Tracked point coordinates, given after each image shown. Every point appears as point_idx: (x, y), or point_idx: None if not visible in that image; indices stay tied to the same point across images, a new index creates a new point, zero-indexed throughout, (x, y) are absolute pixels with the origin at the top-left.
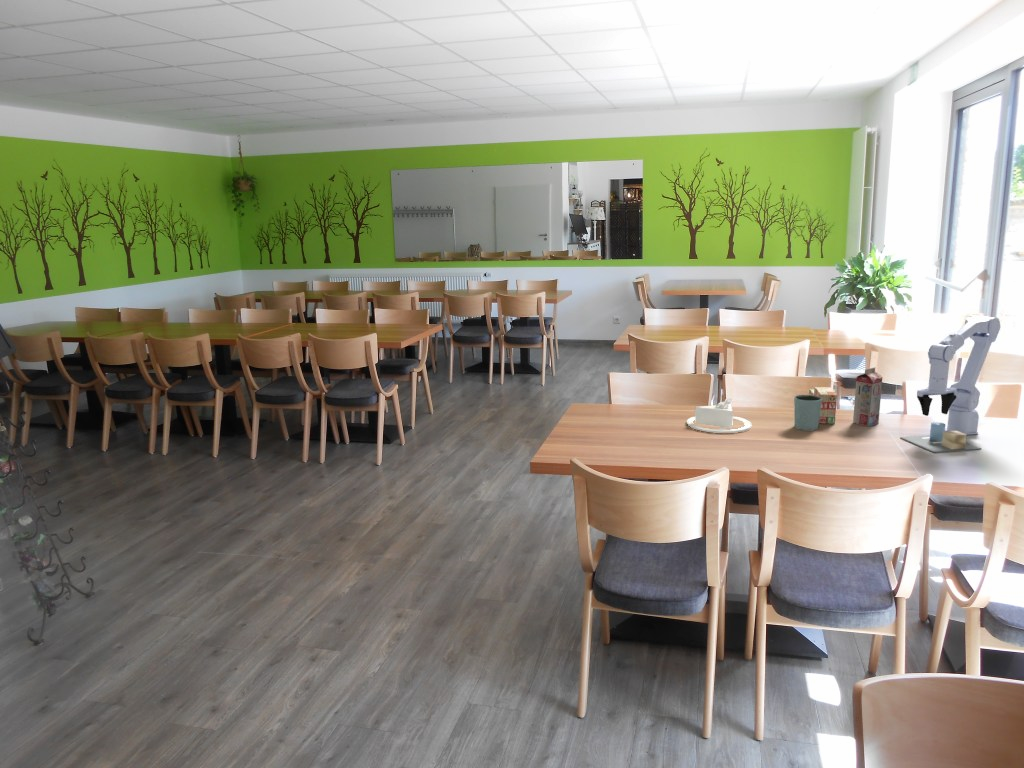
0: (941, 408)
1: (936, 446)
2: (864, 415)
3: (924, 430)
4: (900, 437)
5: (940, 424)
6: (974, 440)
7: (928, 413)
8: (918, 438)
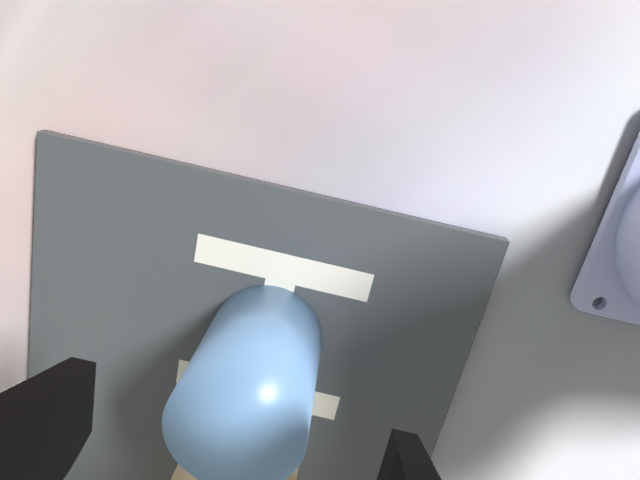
0: (401, 469)
1: (127, 437)
2: None
3: (490, 23)
4: (38, 135)
5: (236, 456)
6: (567, 439)
7: (68, 463)
8: (160, 238)
